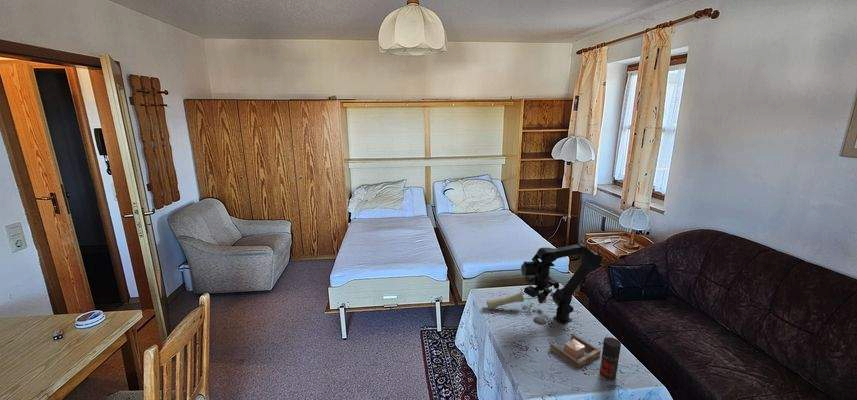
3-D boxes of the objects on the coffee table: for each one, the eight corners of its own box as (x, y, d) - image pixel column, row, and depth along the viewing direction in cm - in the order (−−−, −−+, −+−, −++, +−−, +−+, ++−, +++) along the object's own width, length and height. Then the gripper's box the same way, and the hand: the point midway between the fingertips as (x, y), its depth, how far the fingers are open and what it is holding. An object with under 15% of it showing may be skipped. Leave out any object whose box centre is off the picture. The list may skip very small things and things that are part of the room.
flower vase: (489, 317, 194) (552, 303, 194) (493, 324, 182) (560, 308, 182) (484, 296, 195) (546, 281, 195) (487, 301, 183) (554, 286, 183)
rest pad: (539, 316, 182) (539, 315, 182) (548, 322, 177) (548, 321, 177) (530, 319, 179) (530, 319, 179) (540, 325, 174) (540, 325, 174)
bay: (572, 338, 165) (572, 333, 164) (600, 355, 153) (600, 350, 153) (550, 349, 157) (550, 344, 157) (577, 368, 146) (578, 363, 145)
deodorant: (596, 369, 145) (600, 337, 141) (610, 369, 145) (615, 336, 142) (604, 380, 139) (609, 347, 136) (619, 379, 140) (624, 346, 136)
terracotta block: (572, 346, 159) (573, 338, 158) (584, 354, 154) (585, 346, 154) (563, 351, 156) (564, 343, 155) (575, 359, 151) (576, 351, 150)
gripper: (543, 263, 183) (540, 291, 187) (516, 272, 174) (514, 301, 178) (561, 272, 174) (558, 300, 178) (534, 281, 165) (532, 311, 168)
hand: (540, 303), depth 176 cm, fingers closed
